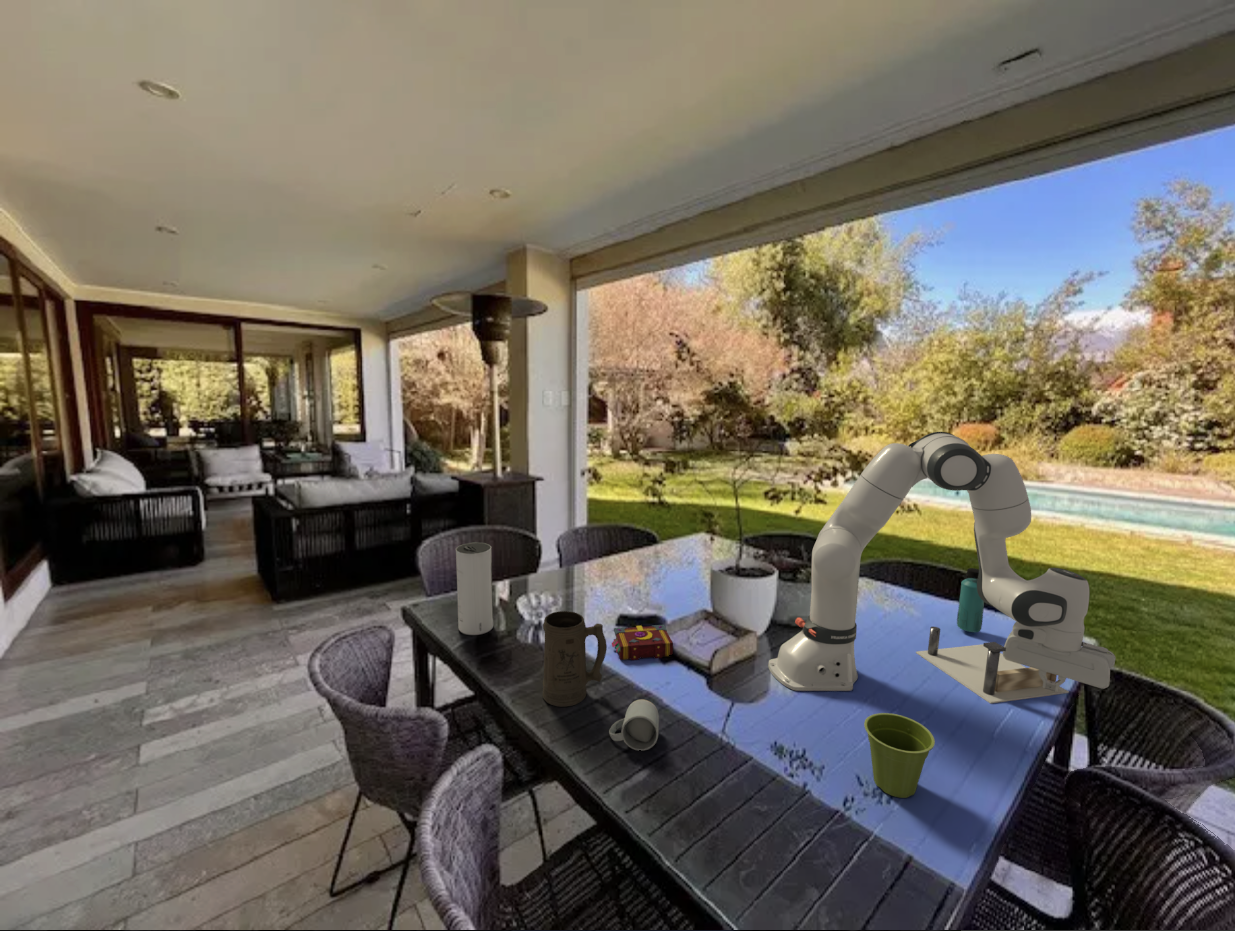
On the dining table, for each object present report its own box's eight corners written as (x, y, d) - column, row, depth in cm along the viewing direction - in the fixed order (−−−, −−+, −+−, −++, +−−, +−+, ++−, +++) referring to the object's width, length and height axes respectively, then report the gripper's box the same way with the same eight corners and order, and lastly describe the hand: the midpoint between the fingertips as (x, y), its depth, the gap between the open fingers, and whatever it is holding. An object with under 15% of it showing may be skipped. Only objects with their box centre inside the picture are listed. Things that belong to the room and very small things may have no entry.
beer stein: (542, 710, 127) (547, 629, 124) (536, 685, 137) (540, 609, 134) (606, 705, 131) (612, 626, 128) (596, 680, 142) (601, 607, 138)
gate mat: (990, 703, 131) (990, 702, 131) (915, 652, 155) (915, 651, 155) (1068, 692, 136) (1068, 691, 136) (984, 645, 160) (984, 644, 160)
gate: (997, 692, 135) (1000, 669, 134) (990, 687, 137) (993, 665, 136) (1055, 684, 138) (1058, 662, 137) (1047, 680, 140) (1050, 658, 139)
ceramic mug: (659, 727, 122) (659, 695, 120) (658, 752, 114) (658, 718, 112) (611, 724, 123) (611, 693, 121) (607, 749, 115) (606, 715, 113)
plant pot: (906, 762, 111) (911, 711, 109) (942, 808, 100) (949, 752, 98) (848, 763, 111) (853, 712, 109) (878, 809, 99) (883, 753, 97)
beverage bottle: (984, 638, 164) (992, 574, 161) (960, 636, 165) (967, 572, 162) (975, 628, 170) (983, 566, 167) (951, 626, 172) (958, 565, 168)
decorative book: (673, 657, 152) (673, 641, 151) (615, 662, 149) (615, 645, 148) (663, 638, 163) (663, 622, 162) (609, 642, 160) (609, 626, 159)
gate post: (988, 698, 134) (995, 649, 131) (977, 690, 137) (983, 642, 134) (999, 696, 134) (1006, 648, 132) (988, 689, 137) (994, 641, 135)
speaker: (496, 632, 165) (493, 549, 161) (460, 638, 161) (456, 553, 157) (490, 618, 175) (488, 539, 170) (456, 623, 171) (453, 542, 167)
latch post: (931, 657, 152) (934, 630, 151) (925, 653, 155) (928, 626, 153) (939, 656, 153) (942, 630, 152) (932, 652, 155) (935, 626, 154)
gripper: (1117, 646, 126) (1107, 701, 128) (1009, 618, 140) (1002, 668, 142) (1116, 656, 122) (1106, 713, 124) (1005, 626, 135) (998, 678, 138)
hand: (1050, 689), depth 133 cm, fingers closed
